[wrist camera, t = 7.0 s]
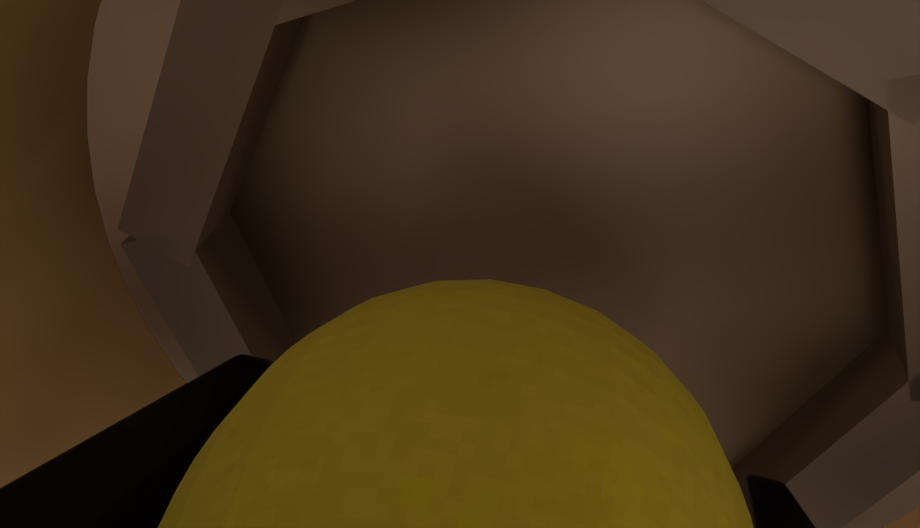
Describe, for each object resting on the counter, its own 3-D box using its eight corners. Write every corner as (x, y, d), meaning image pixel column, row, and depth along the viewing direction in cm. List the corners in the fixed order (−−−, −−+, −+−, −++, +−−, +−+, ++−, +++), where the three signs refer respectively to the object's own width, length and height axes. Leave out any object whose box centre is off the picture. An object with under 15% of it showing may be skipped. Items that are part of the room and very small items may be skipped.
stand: (1033, 446, 16) (1135, 642, 12) (352, 494, 21) (290, 643, 17) (1047, -549, 9) (1283, -731, 6) (32, -118, 14) (-176, -73, 11)
